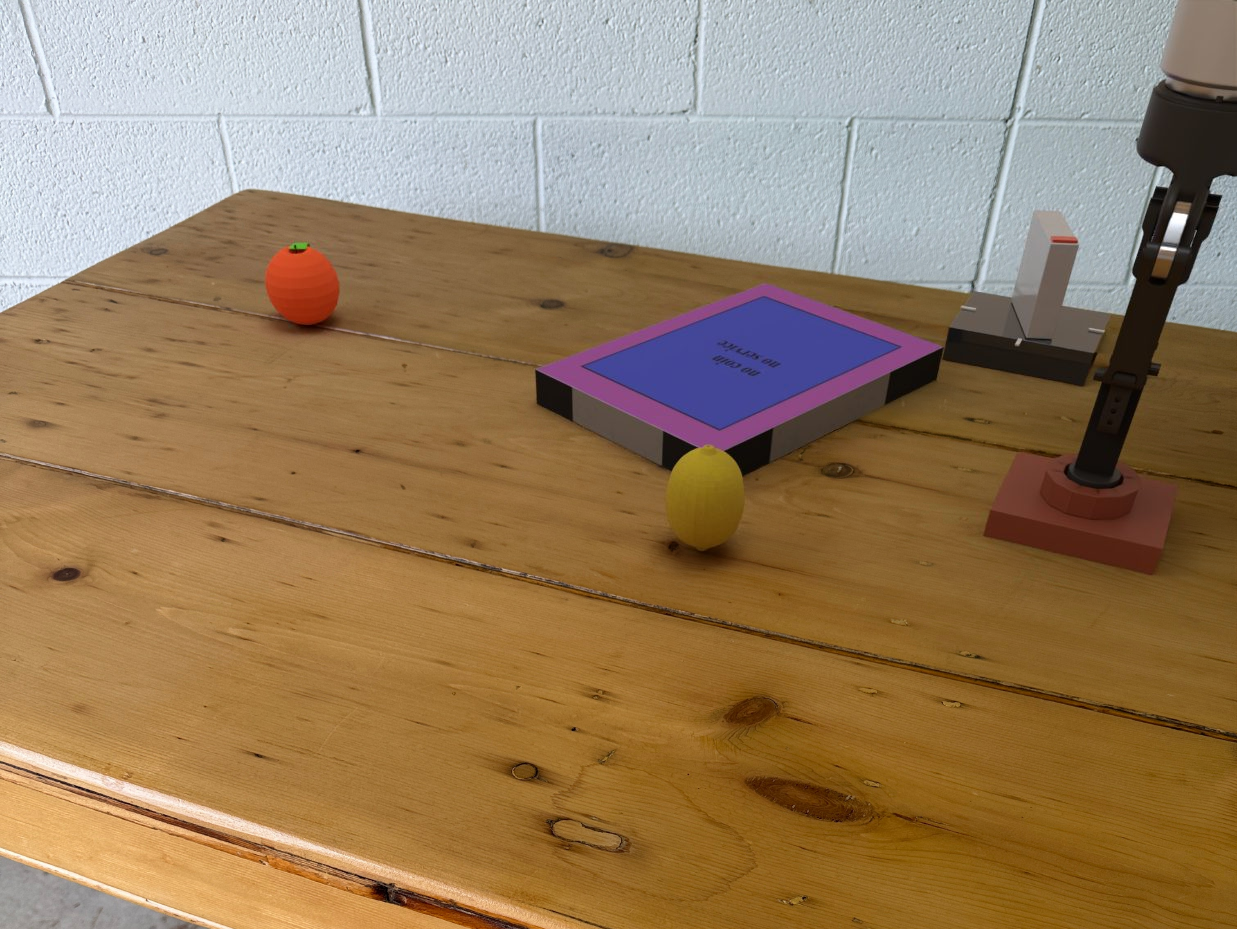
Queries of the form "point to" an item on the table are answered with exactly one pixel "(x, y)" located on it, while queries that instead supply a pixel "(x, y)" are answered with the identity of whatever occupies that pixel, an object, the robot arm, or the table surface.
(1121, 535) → the switch block
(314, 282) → the clementine
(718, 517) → the lemon
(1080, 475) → the button
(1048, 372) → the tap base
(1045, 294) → the grey panel on base
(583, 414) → the book
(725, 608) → the table surface
